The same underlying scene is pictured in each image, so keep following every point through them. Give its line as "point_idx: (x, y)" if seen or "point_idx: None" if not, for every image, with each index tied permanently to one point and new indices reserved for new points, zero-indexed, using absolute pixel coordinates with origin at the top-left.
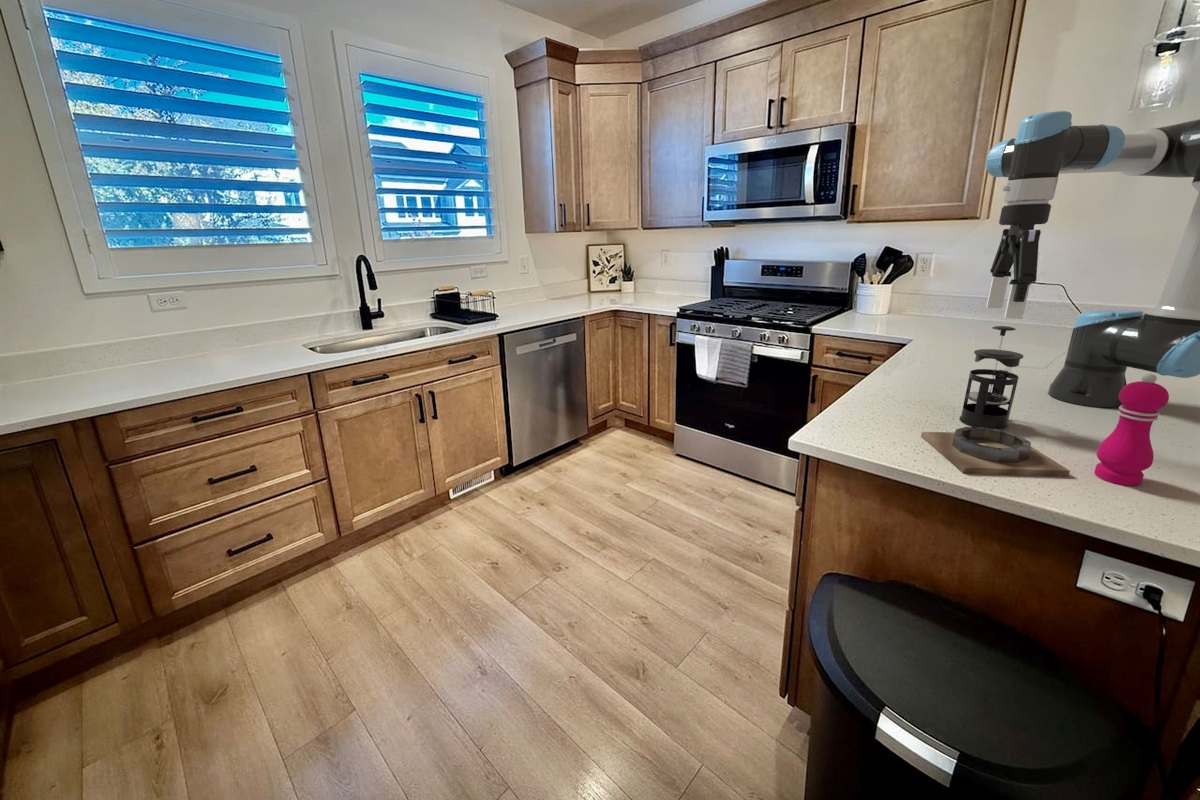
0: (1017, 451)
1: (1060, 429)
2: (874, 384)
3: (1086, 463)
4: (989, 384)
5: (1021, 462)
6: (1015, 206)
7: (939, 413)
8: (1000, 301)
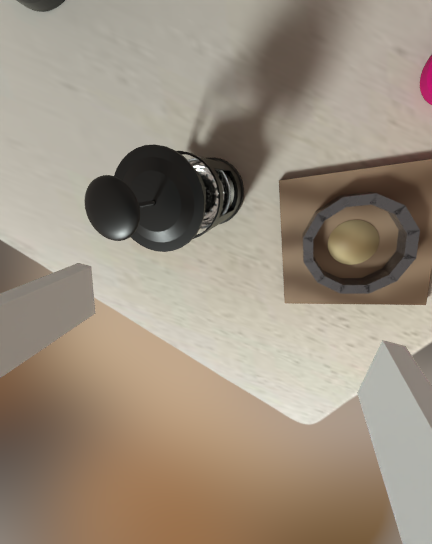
0: (418, 233)
1: (223, 71)
2: None
3: (385, 98)
4: (218, 217)
5: None
6: None
7: None
8: (67, 287)
